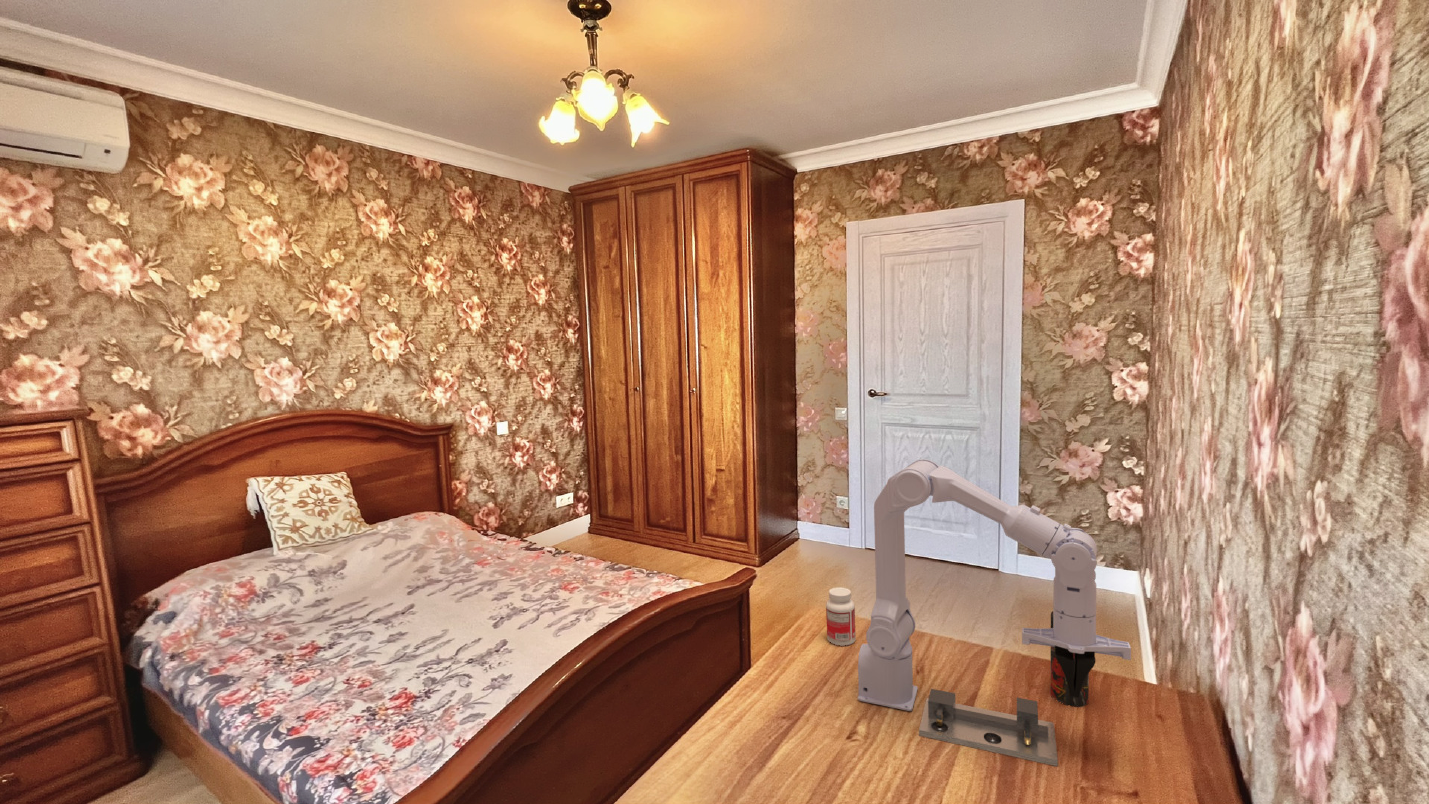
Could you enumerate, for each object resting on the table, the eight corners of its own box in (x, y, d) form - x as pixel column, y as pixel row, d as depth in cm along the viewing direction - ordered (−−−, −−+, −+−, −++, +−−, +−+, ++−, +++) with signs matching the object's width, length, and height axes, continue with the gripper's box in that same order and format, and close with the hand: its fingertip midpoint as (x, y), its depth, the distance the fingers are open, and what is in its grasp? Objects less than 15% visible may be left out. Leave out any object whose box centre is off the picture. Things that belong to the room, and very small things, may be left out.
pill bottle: (842, 631, 140) (840, 583, 139) (861, 641, 135) (860, 592, 134) (821, 638, 137) (819, 590, 136) (840, 649, 132) (839, 599, 131)
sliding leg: (1017, 742, 97) (1016, 719, 97) (1016, 719, 103) (1016, 697, 102) (1038, 747, 96) (1038, 723, 95) (1037, 723, 101) (1037, 701, 101)
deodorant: (1094, 708, 107) (1095, 624, 106) (1056, 705, 109) (1057, 623, 107) (1081, 689, 113) (1081, 610, 112) (1045, 687, 114) (1046, 608, 113)
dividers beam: (926, 726, 103) (926, 708, 103) (931, 704, 109) (930, 688, 108) (1049, 752, 95) (1049, 734, 95) (1047, 728, 101) (1047, 710, 101)
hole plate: (919, 735, 102) (919, 729, 102) (926, 703, 111) (926, 697, 111) (1057, 766, 93) (1057, 759, 93) (1053, 728, 102) (1053, 722, 102)
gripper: (1022, 613, 95) (1022, 697, 96) (1135, 628, 89) (1133, 718, 90) (1021, 596, 102) (1021, 675, 103) (1127, 608, 95) (1125, 692, 96)
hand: (1073, 693), depth 97 cm, fingers closed
